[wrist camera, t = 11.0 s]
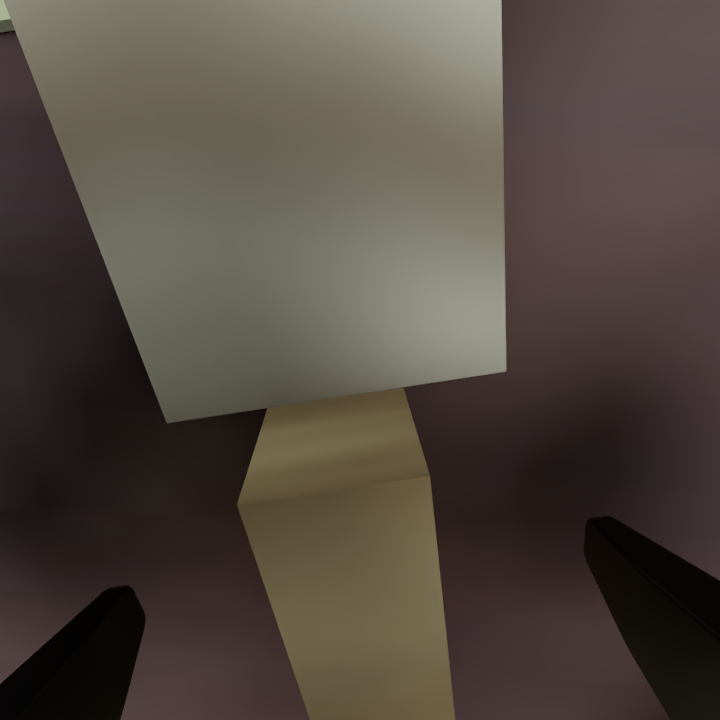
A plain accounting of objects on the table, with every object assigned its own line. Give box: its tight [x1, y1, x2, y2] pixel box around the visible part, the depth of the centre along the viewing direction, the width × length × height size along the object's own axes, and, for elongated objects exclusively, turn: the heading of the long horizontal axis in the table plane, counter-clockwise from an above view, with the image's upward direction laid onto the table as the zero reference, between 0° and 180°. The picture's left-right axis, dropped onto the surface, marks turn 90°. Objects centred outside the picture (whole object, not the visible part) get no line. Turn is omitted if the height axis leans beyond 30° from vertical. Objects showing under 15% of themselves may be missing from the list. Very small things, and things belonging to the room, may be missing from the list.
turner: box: [4, 0, 506, 720], centre depth 8 cm, size 21×7×4 cm, turn 9°
